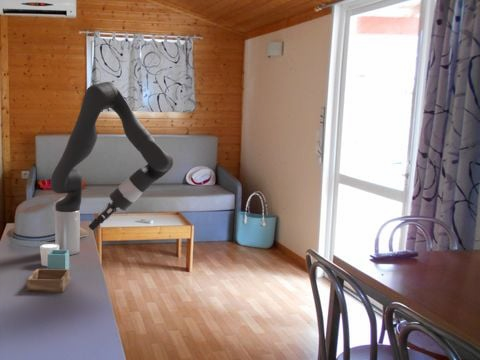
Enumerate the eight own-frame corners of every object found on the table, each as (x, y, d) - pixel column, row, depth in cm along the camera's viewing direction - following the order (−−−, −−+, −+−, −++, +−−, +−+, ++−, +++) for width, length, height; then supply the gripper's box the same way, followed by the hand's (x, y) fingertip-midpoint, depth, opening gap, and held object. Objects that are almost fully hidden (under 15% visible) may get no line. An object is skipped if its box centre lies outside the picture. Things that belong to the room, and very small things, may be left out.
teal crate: (51, 271, 205) (51, 249, 204) (69, 272, 205) (69, 250, 204) (47, 276, 199) (47, 254, 198) (65, 277, 200) (65, 254, 198)
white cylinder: (62, 262, 217) (62, 244, 216) (54, 267, 210) (54, 248, 209) (44, 260, 217) (44, 242, 216) (36, 266, 211) (36, 247, 210)
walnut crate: (37, 280, 195) (37, 268, 195) (70, 280, 196) (70, 269, 195) (27, 291, 184) (27, 279, 183) (62, 292, 185) (62, 280, 184)
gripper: (121, 183, 206) (88, 213, 207) (116, 189, 192) (80, 222, 193) (136, 198, 207) (103, 228, 208) (131, 205, 193) (96, 238, 194)
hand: (92, 225), depth 200 cm, fingers open, 8 cm apart
